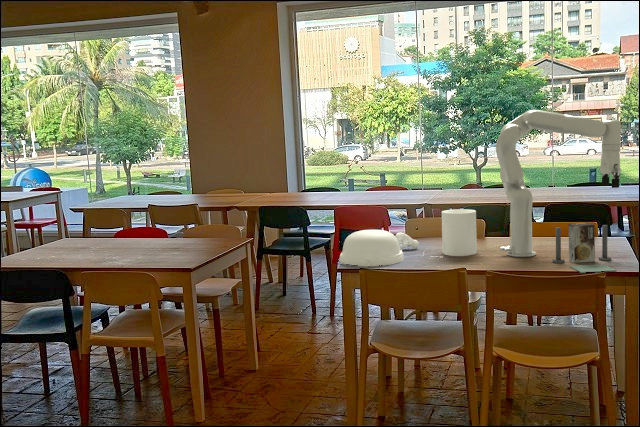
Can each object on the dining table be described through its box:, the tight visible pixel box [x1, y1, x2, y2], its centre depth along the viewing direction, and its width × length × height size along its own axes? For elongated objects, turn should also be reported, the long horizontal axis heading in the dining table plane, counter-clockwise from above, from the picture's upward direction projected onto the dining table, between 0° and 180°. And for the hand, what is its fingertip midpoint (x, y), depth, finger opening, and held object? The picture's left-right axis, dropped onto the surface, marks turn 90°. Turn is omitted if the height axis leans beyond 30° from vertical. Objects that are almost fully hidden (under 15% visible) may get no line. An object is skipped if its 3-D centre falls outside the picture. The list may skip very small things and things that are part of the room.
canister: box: [441, 208, 478, 257], centre depth 325 cm, size 16×16×20 cm
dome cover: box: [339, 229, 405, 267], centre depth 319 cm, size 32×30×14 cm
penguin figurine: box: [394, 232, 420, 252], centre depth 341 cm, size 6×8×12 cm
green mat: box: [569, 263, 617, 274], centre depth 277 cm, size 14×12×1 cm
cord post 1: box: [551, 226, 566, 264], centre depth 293 cm, size 5×5×15 cm
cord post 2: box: [598, 224, 612, 262], centre depth 293 cm, size 5×5×15 cm
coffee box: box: [568, 222, 596, 264], centre depth 293 cm, size 9×6×16 cm
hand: (610, 186), depth 305 cm, fingers open, 9 cm apart
